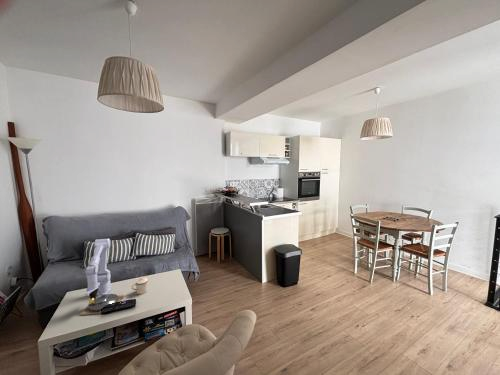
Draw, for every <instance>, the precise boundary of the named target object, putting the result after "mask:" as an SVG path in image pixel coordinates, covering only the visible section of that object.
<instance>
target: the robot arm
mask: <svg viewBox="0 0 500 375" xmlns="http://www.w3.org/2000/svg"><path fill="white" fill-rule="evenodd" d="M93 245H94V246H93V247H94V254H93V256H92V257H90V261H89V263H88V266H86V268H85V270H84V273H85V276H86V278H87V287H86V289H85V290H86V291H85V293H84V296H85V297H88V296H89V299H90V298H92V297H94V300H95V299H96V298H97V296H103V295H107V294H109V292H111V290H112V289H113V287H112V284H111V271H110V270H109V269H107V264H108V250H109V249H110V248H111V239H110V238H99V239H95V240H94V243H93Z"/></svg>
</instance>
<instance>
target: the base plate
mask: <svg viewBox="0 0 500 375" xmlns="http://www.w3.org/2000/svg"><path fill="white" fill-rule="evenodd" d="M117 296H118V301H117V302H119V301H120V302H122V300H123V299H124V298H125V297H126V296H125V294H121V295H120V294H119V295H118V294H117ZM89 315H102V314H101V312H100V311H91V310H89V309H88V306H87V307H86V308H84V309H83V311H81V312H80V313H79V316H80V317H81V316H89Z"/></svg>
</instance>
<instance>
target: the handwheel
mask: <svg viewBox="0 0 500 375" xmlns="http://www.w3.org/2000/svg"><path fill="white" fill-rule="evenodd" d="M117 301H118V294H116V293H107V294H106V295H99V296H96V299H95V300H94V297H92V298H90V297H89V299H88V305H87V307H88V309H89V310H91V311H100V310H101V309H102V308H103V307H104V306H106V305H108V304H112V303H116V302H117Z"/></svg>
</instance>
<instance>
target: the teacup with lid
mask: <svg viewBox="0 0 500 375" xmlns="http://www.w3.org/2000/svg"><path fill="white" fill-rule="evenodd" d="M134 286H135V287H136V288H134ZM131 289H132V290H133V291H136V294H137V295H142V294H145V293H147V292H148V291H149V279H148V278H147V277H140V278H138V280H136V281H135V283H133V284H132V286H131Z"/></svg>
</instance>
